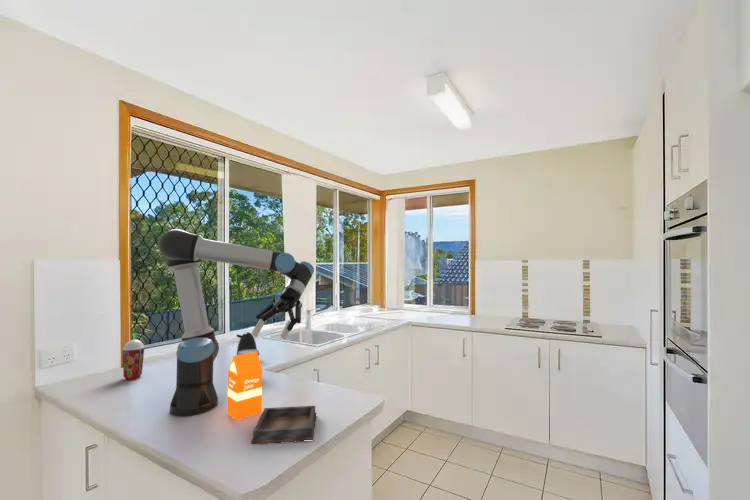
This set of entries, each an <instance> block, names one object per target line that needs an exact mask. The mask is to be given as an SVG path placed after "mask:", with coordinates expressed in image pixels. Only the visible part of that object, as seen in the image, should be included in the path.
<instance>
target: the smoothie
mask: <svg viewBox="0 0 750 500" xmlns="http://www.w3.org/2000/svg"><path fill="white" fill-rule="evenodd" d="M145 347H146V346H145V345H144V343H143V342H142V341H141V340H139V339H136V333H133V334H132V339H130V340H128V341H127V342H126V343H125V344H124V346H123V347H122V349H121V351H122V367H123V368H122V369H123V372H122V373H123V378H124V379H126V381H134V380H137V378H138V379H140V378H141V375H143V367H144V366H143V365H144V358H145V357H144V356H145V355H144V354H145ZM133 379H134V380H133Z"/></svg>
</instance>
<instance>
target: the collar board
mask: <svg viewBox="0 0 750 500" xmlns="http://www.w3.org/2000/svg"><path fill="white" fill-rule="evenodd" d="M316 414H317V412H316V405H301V406H300V405H299V406H283V407H264V409H263V410H262V412H261V415H260V416H259V419H258V421H257V423H256V424H255V427H254V429H253V431H252V439H251V441H250V445H251V444H260V445H269V444H268V443H277V444H282V443H281V442H294V443H298V442H297V441H304V440H313V438H314V439H315V432H314V430H315V431H316V424H315V422H317V416H316ZM295 441H296V442H295ZM313 441H314V440H313Z"/></svg>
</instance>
